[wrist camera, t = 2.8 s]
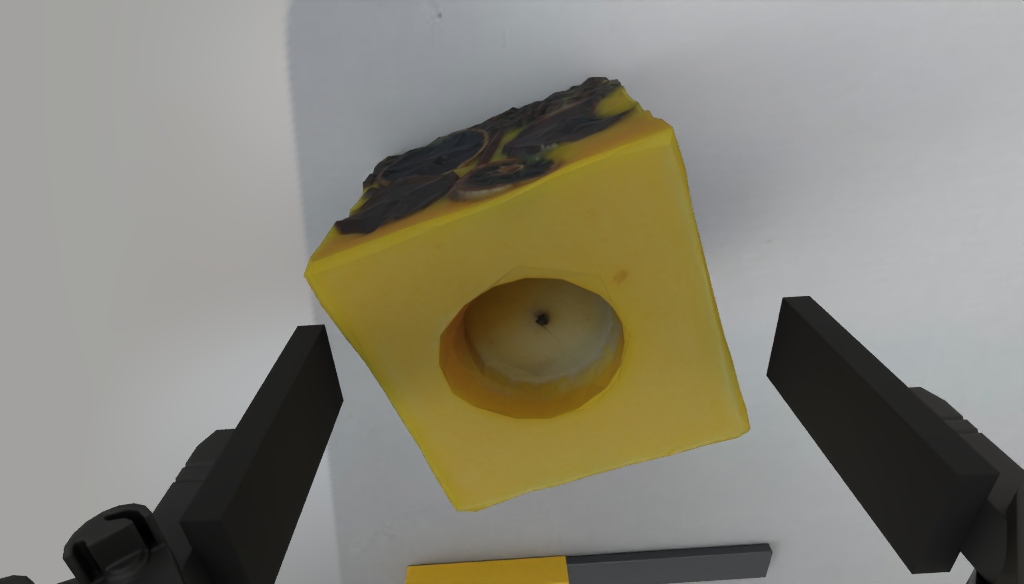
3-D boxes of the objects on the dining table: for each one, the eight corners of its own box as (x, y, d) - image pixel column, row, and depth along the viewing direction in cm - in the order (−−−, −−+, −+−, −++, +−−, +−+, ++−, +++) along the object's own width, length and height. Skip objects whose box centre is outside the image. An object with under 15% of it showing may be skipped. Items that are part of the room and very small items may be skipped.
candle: (668, 284, 25) (763, 437, 17) (468, 352, 27) (459, 526, 18) (608, 64, 21) (695, 116, 12) (370, 161, 22) (291, 271, 13)
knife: (414, 592, 36) (410, 620, 34) (407, 565, 34) (404, 593, 33) (761, 569, 36) (774, 596, 34) (769, 542, 35) (782, 568, 33)
